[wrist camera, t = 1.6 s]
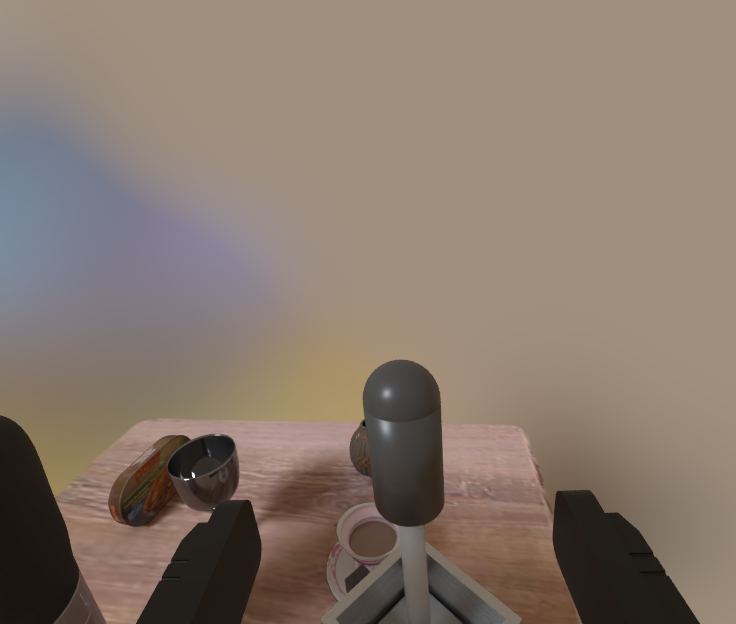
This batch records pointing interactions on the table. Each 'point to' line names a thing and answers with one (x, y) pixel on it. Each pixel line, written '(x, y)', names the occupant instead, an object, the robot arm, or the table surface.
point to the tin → (145, 484)
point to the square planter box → (445, 583)
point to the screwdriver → (407, 475)
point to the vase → (360, 450)
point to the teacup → (359, 544)
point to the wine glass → (205, 471)
